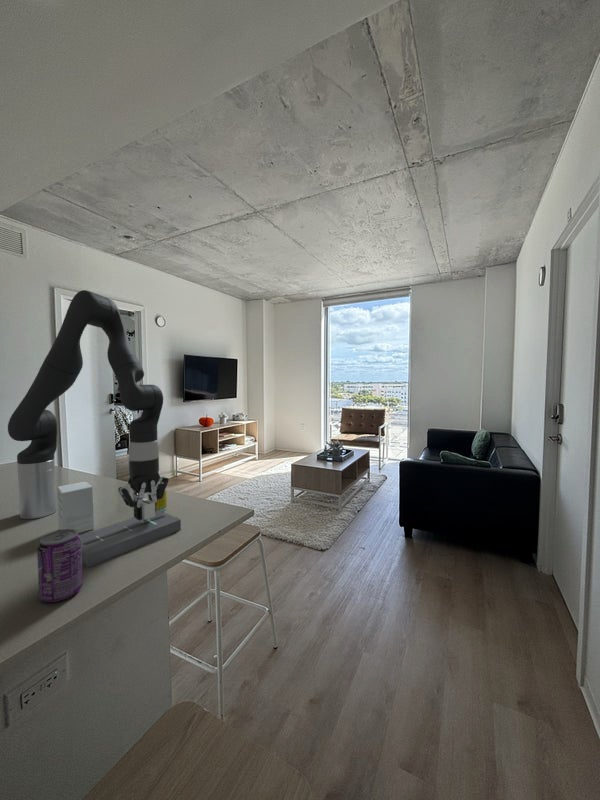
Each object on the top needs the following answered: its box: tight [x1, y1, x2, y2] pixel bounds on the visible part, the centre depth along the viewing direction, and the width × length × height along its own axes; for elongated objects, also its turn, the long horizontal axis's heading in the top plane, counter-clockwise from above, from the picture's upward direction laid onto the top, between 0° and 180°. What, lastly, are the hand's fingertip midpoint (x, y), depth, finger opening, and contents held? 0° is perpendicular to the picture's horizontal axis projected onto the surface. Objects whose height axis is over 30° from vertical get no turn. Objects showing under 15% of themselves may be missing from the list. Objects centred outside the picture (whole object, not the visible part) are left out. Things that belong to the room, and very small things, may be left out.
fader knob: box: [141, 497, 155, 522], centre depth 92 cm, size 5×3×6 cm, turn 53°
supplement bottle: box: [155, 483, 168, 512], centre depth 109 cm, size 5×5×10 cm
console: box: [78, 510, 182, 568], centre depth 89 cm, size 12×24×3 cm, turn 143°
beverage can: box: [36, 529, 84, 603], centre depth 66 cm, size 7×7×12 cm
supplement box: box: [56, 481, 95, 534], centre depth 94 cm, size 7×7×13 cm
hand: (145, 517), depth 92 cm, fingers closed on fader knob, 3 cm apart
